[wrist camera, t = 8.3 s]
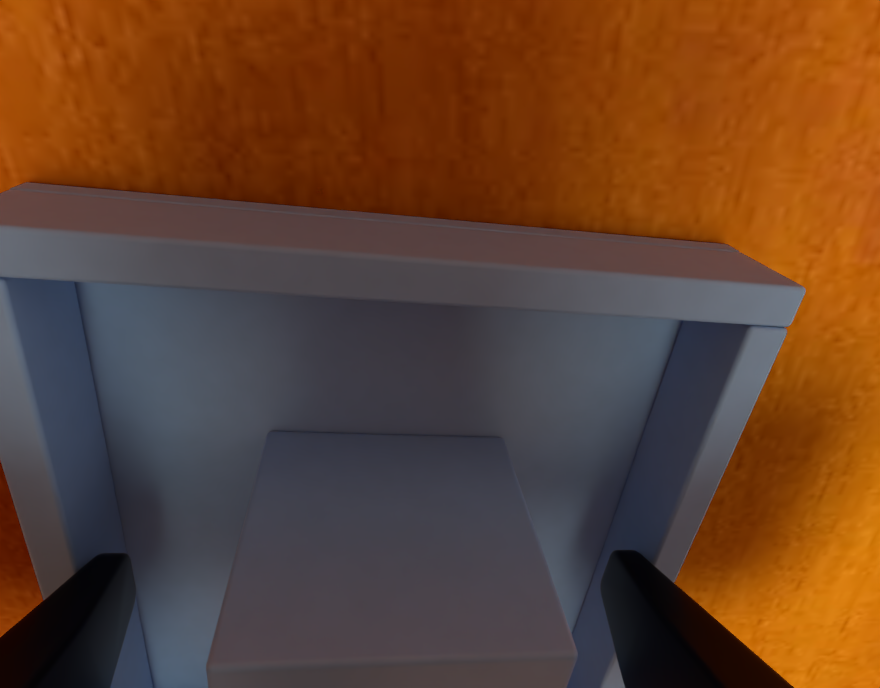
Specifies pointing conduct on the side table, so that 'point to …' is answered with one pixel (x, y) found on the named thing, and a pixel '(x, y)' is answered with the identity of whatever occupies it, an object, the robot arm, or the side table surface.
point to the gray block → (389, 570)
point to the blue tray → (357, 383)
